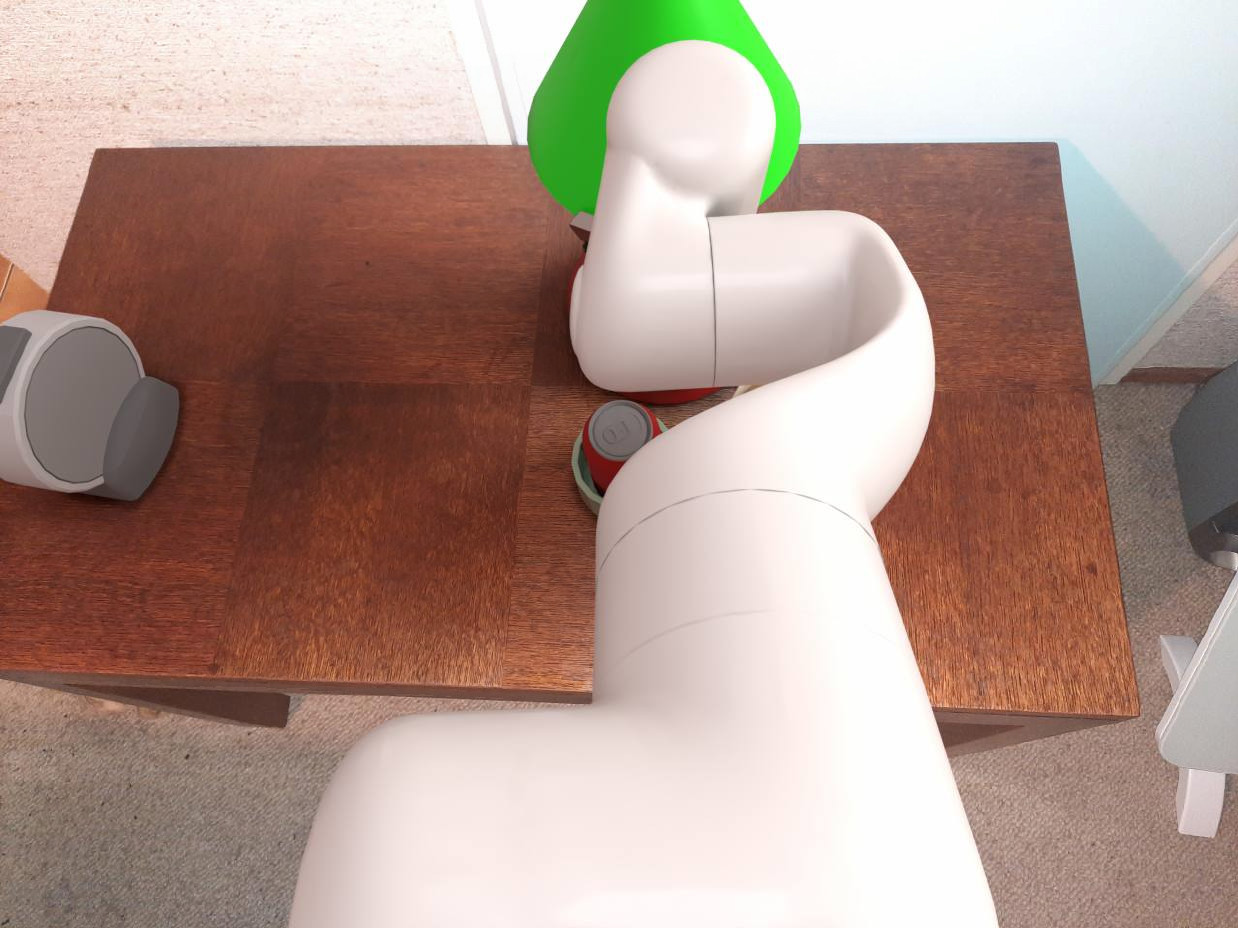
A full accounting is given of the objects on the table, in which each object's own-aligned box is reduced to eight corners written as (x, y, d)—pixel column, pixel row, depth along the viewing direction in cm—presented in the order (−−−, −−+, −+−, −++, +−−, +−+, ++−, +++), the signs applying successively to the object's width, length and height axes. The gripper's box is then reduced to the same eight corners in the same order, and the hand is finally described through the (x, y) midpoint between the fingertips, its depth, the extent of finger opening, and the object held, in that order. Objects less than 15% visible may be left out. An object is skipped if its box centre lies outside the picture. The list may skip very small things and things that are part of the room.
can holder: (646, 543, 80) (645, 527, 75) (559, 496, 82) (552, 478, 77) (695, 458, 83) (697, 438, 77) (609, 415, 85) (605, 392, 80)
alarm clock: (108, 360, 90) (-25, 265, 73) (197, 373, 89) (84, 280, 72) (48, 506, 85) (-110, 440, 68) (143, 521, 84) (6, 458, 67)
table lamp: (800, 349, 86) (924, -55, 43) (627, 440, 84) (580, 108, 41) (701, 206, 92) (724, -269, 50) (537, 287, 90) (416, -136, 48)
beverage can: (676, 487, 81) (676, 442, 70) (614, 522, 80) (605, 482, 69) (639, 430, 83) (634, 378, 72) (579, 464, 83) (565, 417, 71)
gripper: (521, 203, 49) (557, 302, 66) (781, 361, 47) (749, 421, 64) (593, 99, 50) (611, 224, 67) (852, 250, 47) (803, 339, 64)
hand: (679, 320), depth 65 cm, fingers open, 9 cm apart
